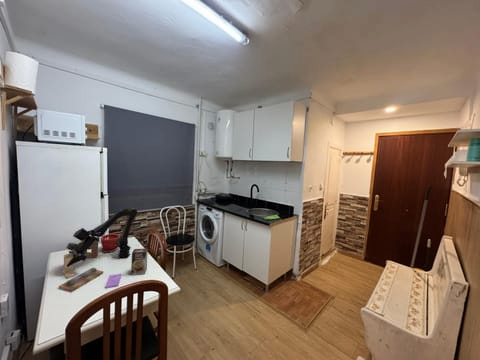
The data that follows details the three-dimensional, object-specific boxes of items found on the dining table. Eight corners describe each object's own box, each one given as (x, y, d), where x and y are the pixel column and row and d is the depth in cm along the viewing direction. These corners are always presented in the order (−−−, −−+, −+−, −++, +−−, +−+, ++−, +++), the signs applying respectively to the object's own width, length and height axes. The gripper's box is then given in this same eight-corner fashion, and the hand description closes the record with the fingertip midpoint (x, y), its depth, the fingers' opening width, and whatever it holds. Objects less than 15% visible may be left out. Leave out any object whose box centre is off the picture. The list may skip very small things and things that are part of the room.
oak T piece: (62, 271, 129) (62, 253, 128) (70, 269, 132) (70, 251, 131) (67, 278, 122) (67, 259, 121) (75, 276, 125) (75, 257, 124)
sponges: (121, 275, 129) (121, 273, 129) (118, 287, 118) (118, 284, 118) (109, 277, 126) (109, 274, 126) (104, 289, 115) (104, 286, 115)
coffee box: (130, 275, 130) (131, 252, 128) (133, 270, 136) (133, 248, 134) (145, 274, 132) (146, 252, 131) (147, 269, 138) (147, 247, 137)
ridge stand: (91, 270, 132) (91, 265, 131) (103, 273, 130) (103, 267, 129) (58, 288, 112) (58, 282, 112) (72, 292, 110) (72, 285, 110)
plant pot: (108, 254, 154) (108, 240, 153) (97, 251, 159) (97, 237, 158) (123, 248, 166) (123, 235, 166) (112, 245, 171) (112, 232, 170)
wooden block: (96, 257, 149) (96, 235, 147) (79, 259, 145) (79, 236, 143) (98, 255, 152) (98, 233, 151) (81, 257, 148) (82, 234, 147)
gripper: (72, 234, 134) (50, 254, 125) (80, 242, 123) (57, 265, 115) (86, 242, 141) (66, 261, 132) (95, 250, 130) (74, 272, 122)
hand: (65, 265), depth 125 cm, fingers open, 5 cm apart
